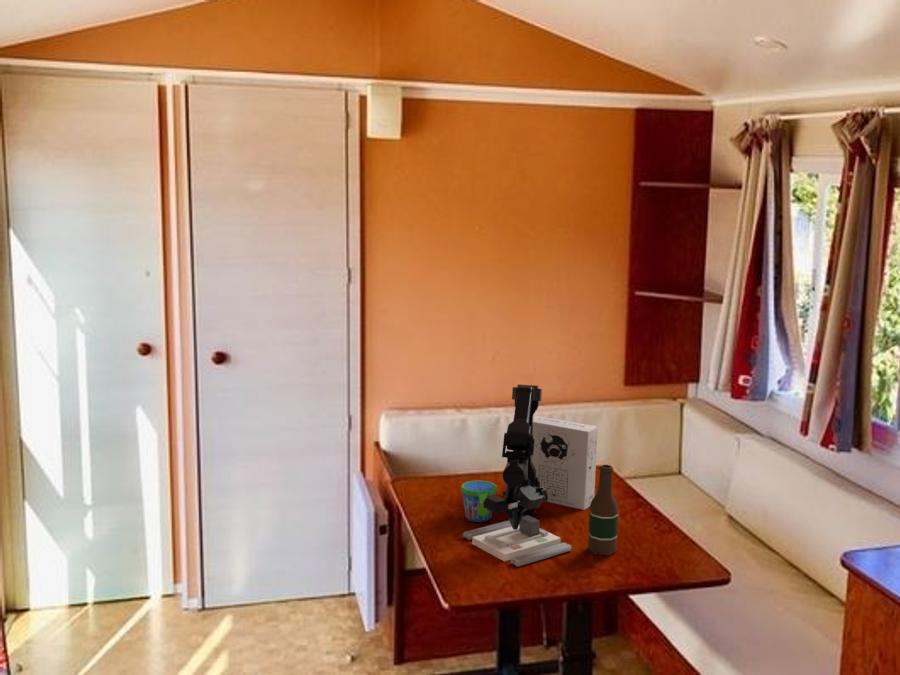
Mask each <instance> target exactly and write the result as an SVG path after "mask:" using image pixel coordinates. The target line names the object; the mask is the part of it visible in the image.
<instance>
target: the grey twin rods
mask: <svg viewBox="0 0 900 675" xmlns="http://www.w3.org/2000/svg"><path fill="white" fill-rule="evenodd" d="M508 527H511V523H510V521H509V519H508V520H505V521H502V522H497V523H493V524H490V525H486V526H483V527H478V528H474V529H471V530H467V531H464V532H463V533H462V537H463V538H464V539H467V540H468V541H471V540H472V537H474V536H478V535H482V534H485V533H489V532H493V531H496V530H500V529H504V528H508ZM572 549H573V547H572V545H571V544H569V543H567V542H561V543H560V544H557V545H554V546H550V547H547V548H544V549H540V550H537V551H533V552H530V553H527V554H523V555H520V556H516V557H513V558H511V560H509V561H510V563H511V565H515V567H519V568H520V567H522V566H525V565H529V564H532V563H535V562H539V561H541V560H545V559H547V558H551V557H555V556H557V555H561V554H564V553H568V552H571V551H572Z"/></svg>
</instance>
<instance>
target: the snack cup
mask: <svg viewBox="0 0 900 675" xmlns="http://www.w3.org/2000/svg"><path fill="white" fill-rule="evenodd" d="M460 489H461V493H462V499H463V506H464V514H465V518H466V519H467V520H468V521H469V522H473V523H475V522H476V523H485V522H487V521H490V520H491V519H492V516H493V512H492V511H490V510H488V509H486V508H484V499H485V498H487V497H491V496H495V495H496V494H497V491H498V486H497V484H495V483H493V482H491V481H487V480H470V481H469V480H468V481H465V482H464V483H462V484H461V488H460Z"/></svg>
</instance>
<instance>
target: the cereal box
mask: <svg viewBox="0 0 900 675" xmlns="http://www.w3.org/2000/svg"><path fill="white" fill-rule="evenodd" d="M598 428H599V427H598V426H597V425H591V424H587V423H581V422H576V421H575V422H574V421H568V420H562V419H556V418H551V417H546V416H540V415H533V438H534V439H535V443H534V453H533V455H532V460H531V462H532V464H533V465H534V467H535V469H536V477H538V480H539V482H540V487H544V488H545V489H546V492H547V494H548V500H547V501H546V502H548V503H552V504H556V505H560V506H565V507H569V508H573V509H578V510H582V511H585V510H587V509H588V508H590V504H591V502H592V500H593V498H594V497H595V491H596V488H595V487H596V469H597V453H598V452H597V448H598V433H599V431H598V430H599V429H598Z"/></svg>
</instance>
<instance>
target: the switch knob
mask: <svg viewBox="0 0 900 675" xmlns="http://www.w3.org/2000/svg"><path fill="white" fill-rule="evenodd" d="M540 523H541V521H540V519H537V518H536V517H532V516H529V515H527V516H523V517H522V519H521V521H520V524H519V531H520V532H522V533H524V534H526V535H528V536H530V537H532V536H536V535H539V528H540Z"/></svg>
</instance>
